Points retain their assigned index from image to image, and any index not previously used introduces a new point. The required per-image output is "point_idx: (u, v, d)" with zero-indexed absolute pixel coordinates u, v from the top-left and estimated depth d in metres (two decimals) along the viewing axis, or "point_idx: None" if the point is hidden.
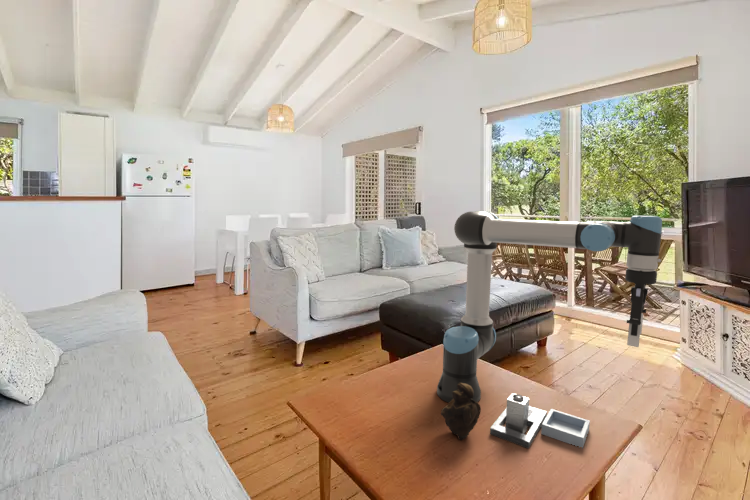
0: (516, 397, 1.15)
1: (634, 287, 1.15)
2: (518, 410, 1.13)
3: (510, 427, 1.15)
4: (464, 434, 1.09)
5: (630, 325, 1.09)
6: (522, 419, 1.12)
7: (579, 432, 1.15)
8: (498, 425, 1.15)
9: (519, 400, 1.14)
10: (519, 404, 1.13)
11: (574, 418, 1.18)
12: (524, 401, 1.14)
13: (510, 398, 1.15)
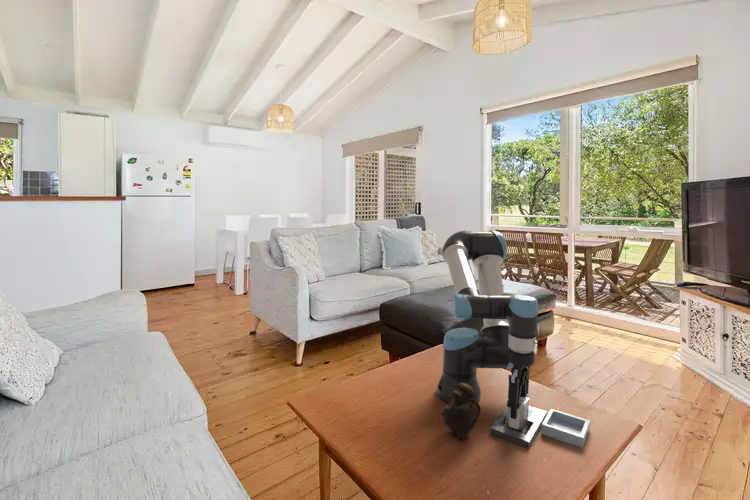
0: None
1: None
2: None
3: (510, 427, 1.15)
4: (464, 434, 1.09)
5: (510, 408, 1.14)
6: (522, 419, 1.12)
7: (579, 432, 1.15)
8: (498, 425, 1.15)
9: None
10: (519, 404, 1.13)
11: (574, 418, 1.18)
12: (524, 401, 1.14)
13: None
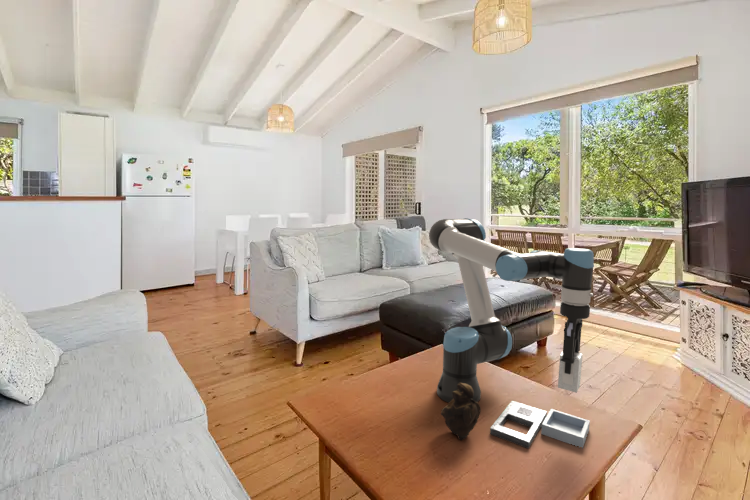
0: None
1: None
2: None
3: (563, 383, 1.12)
4: (464, 434, 1.09)
5: (564, 363, 1.11)
6: (577, 374, 1.10)
7: (579, 432, 1.15)
8: (498, 425, 1.15)
9: None
10: None
11: (574, 418, 1.18)
12: (578, 356, 1.11)
13: None
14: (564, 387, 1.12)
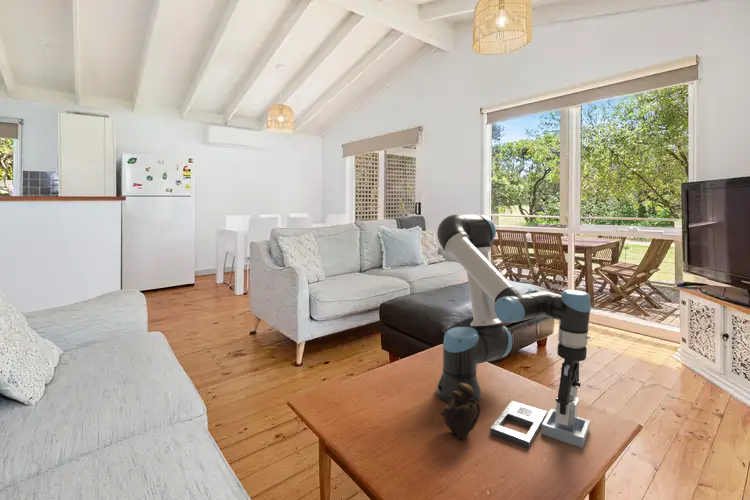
0: None
1: None
2: (569, 410, 1.12)
3: (560, 427, 1.14)
4: (464, 434, 1.09)
5: (559, 403, 1.10)
6: (573, 419, 1.11)
7: (579, 432, 1.15)
8: (498, 425, 1.15)
9: (569, 400, 1.13)
10: (570, 404, 1.12)
11: None
12: (574, 401, 1.13)
13: None
14: None
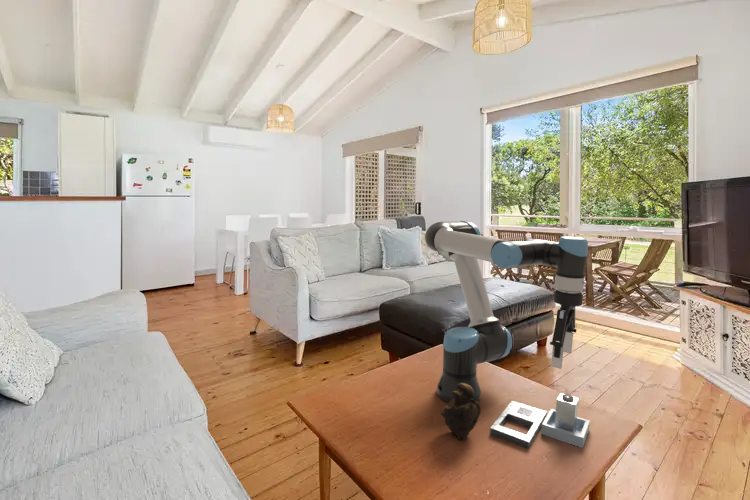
0: (566, 397, 1.14)
1: None
2: (569, 410, 1.12)
3: (560, 427, 1.14)
4: (464, 434, 1.09)
5: (554, 347, 1.09)
6: (573, 419, 1.11)
7: (579, 432, 1.15)
8: (498, 425, 1.15)
9: (569, 400, 1.13)
10: (570, 404, 1.12)
11: None
12: (574, 401, 1.13)
13: (559, 398, 1.14)
14: None
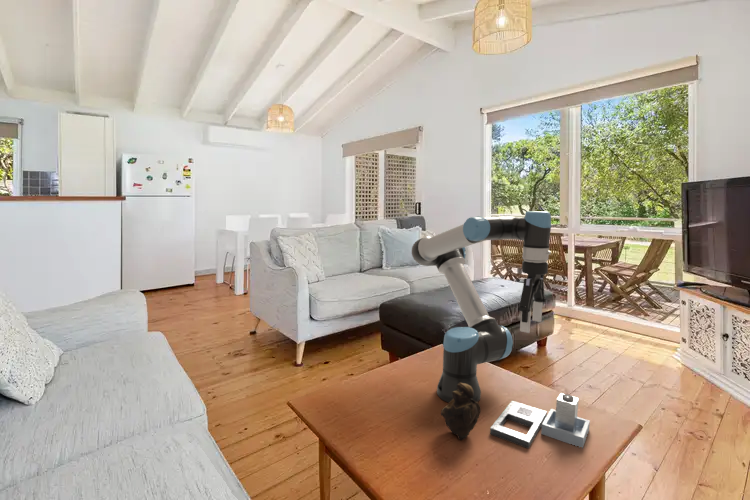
0: (566, 397, 1.14)
1: None
2: (569, 410, 1.12)
3: (560, 427, 1.14)
4: (464, 434, 1.09)
5: None
6: (573, 419, 1.11)
7: (579, 432, 1.15)
8: (498, 425, 1.15)
9: (569, 400, 1.13)
10: (570, 404, 1.12)
11: None
12: (574, 401, 1.13)
13: (559, 398, 1.14)
14: None
